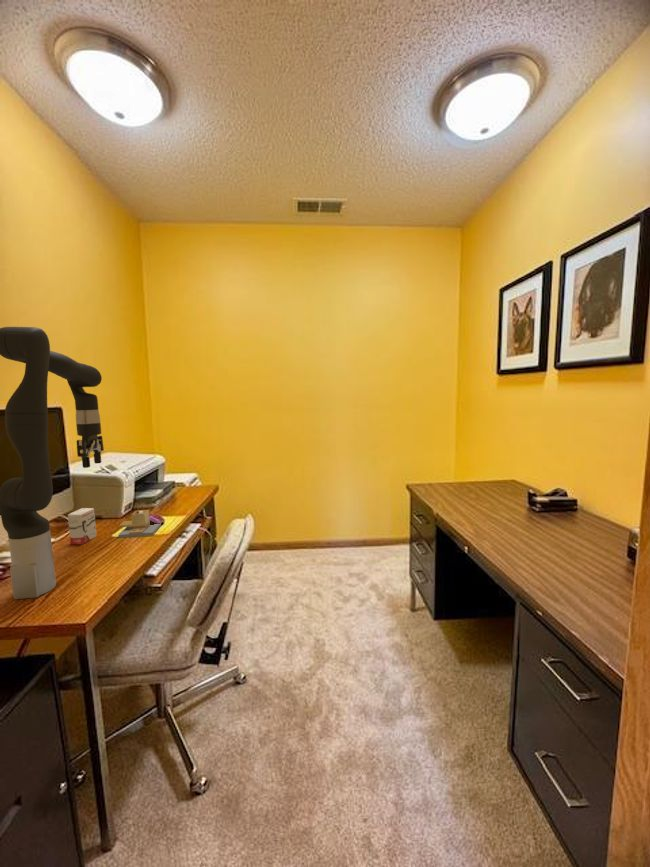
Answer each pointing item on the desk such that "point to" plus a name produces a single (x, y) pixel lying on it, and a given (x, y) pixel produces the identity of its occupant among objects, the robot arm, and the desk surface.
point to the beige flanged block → (137, 519)
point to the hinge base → (140, 530)
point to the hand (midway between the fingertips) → (92, 465)
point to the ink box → (82, 525)
